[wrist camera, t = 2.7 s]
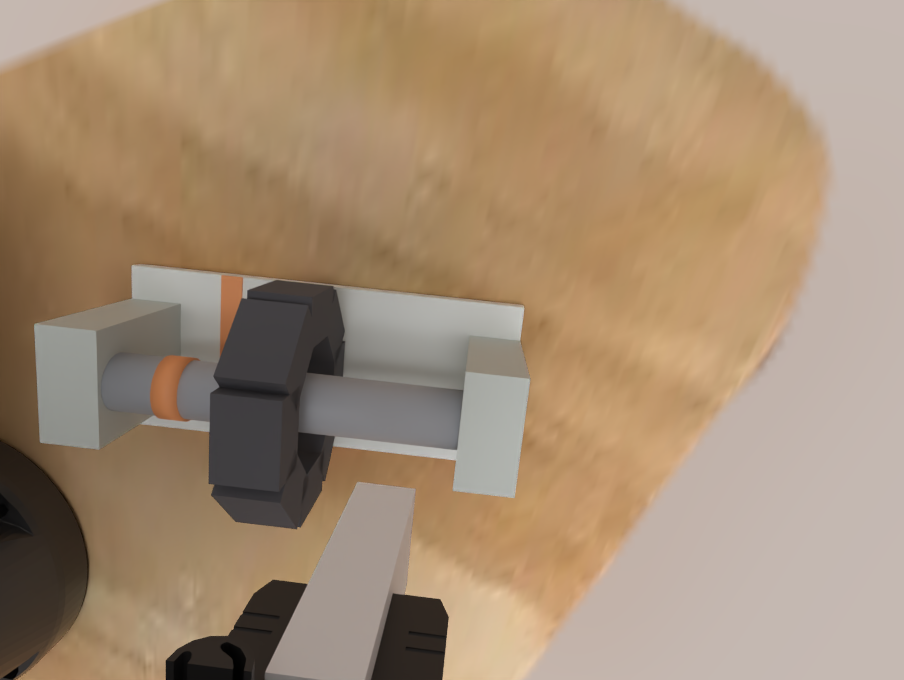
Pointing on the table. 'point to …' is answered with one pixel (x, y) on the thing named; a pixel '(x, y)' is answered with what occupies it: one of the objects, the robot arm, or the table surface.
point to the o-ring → (273, 403)
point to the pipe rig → (323, 396)
